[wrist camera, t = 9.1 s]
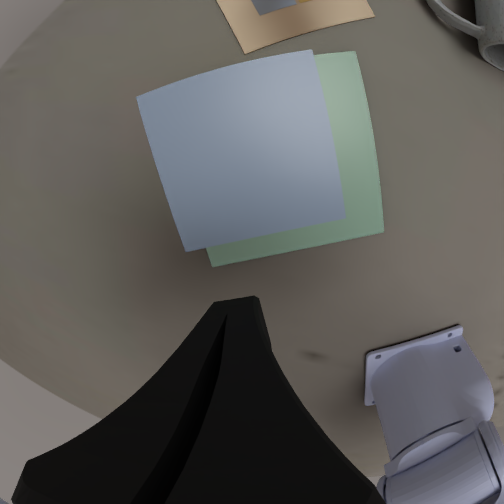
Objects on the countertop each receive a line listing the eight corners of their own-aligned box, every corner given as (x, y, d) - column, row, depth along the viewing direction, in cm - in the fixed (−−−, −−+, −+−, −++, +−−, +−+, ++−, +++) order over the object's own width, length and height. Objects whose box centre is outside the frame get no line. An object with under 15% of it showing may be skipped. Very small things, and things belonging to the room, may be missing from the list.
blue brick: (293, 72, 10) (311, 49, 6) (318, 180, 12) (346, 218, 8) (181, 100, 10) (136, 96, 6) (210, 204, 12) (185, 252, 8)
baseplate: (353, 52, 13) (355, 51, 13) (381, 229, 18) (384, 232, 17) (160, 94, 15) (158, 94, 14) (213, 264, 19) (212, 267, 19)
